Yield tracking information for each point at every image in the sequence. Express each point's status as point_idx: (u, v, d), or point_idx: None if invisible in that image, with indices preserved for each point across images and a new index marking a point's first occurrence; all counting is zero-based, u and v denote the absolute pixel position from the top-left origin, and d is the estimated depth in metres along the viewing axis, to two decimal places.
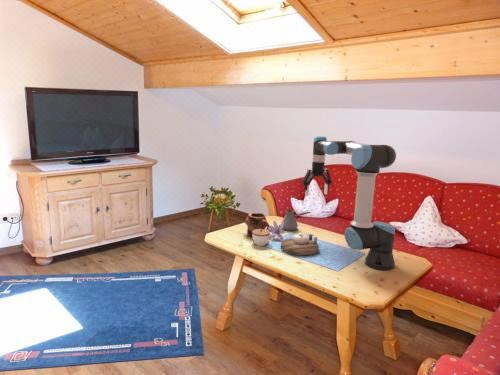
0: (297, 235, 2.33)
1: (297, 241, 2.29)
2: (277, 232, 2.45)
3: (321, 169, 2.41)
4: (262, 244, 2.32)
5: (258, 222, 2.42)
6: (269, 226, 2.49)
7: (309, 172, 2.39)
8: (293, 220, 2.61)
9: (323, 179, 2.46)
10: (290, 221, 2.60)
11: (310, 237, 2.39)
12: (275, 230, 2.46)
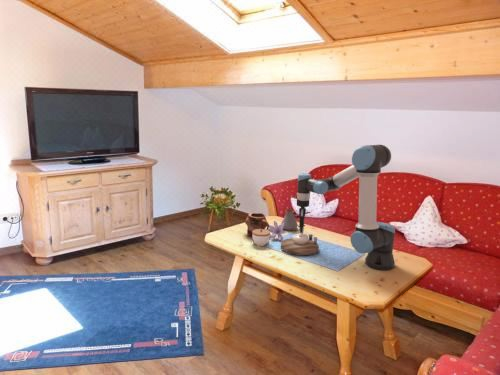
0: (297, 235, 2.32)
1: (297, 241, 2.29)
2: (277, 232, 2.45)
3: None
4: (263, 244, 2.32)
5: (258, 222, 2.42)
6: (269, 226, 2.49)
7: (303, 215, 2.29)
8: (293, 220, 2.61)
9: None
10: (290, 221, 2.60)
11: (310, 237, 2.39)
12: (275, 230, 2.46)
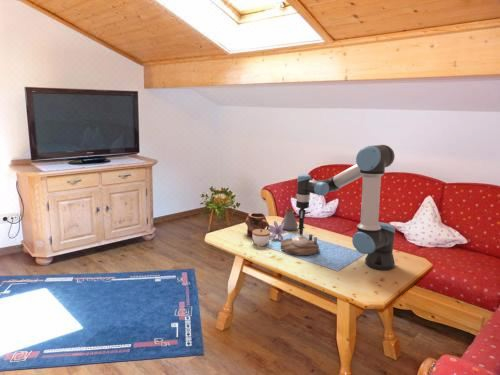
0: (296, 238, 2.29)
1: (296, 244, 2.25)
2: (277, 232, 2.45)
3: None
4: (262, 244, 2.32)
5: (258, 222, 2.42)
6: (270, 226, 2.49)
7: (303, 217, 2.25)
8: (293, 220, 2.61)
9: None
10: (290, 221, 2.60)
11: (310, 237, 2.39)
12: (275, 230, 2.46)
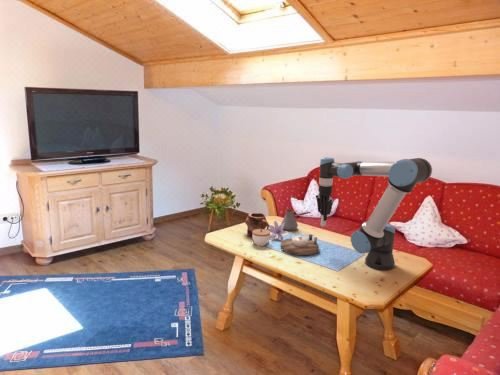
0: (296, 238, 2.29)
1: (296, 244, 2.25)
2: (278, 232, 2.45)
3: (327, 193, 2.16)
4: (262, 244, 2.32)
5: (258, 222, 2.42)
6: (270, 226, 2.49)
7: (316, 198, 2.23)
8: (293, 220, 2.61)
9: None
10: (290, 221, 2.60)
11: (310, 237, 2.39)
12: (276, 230, 2.46)
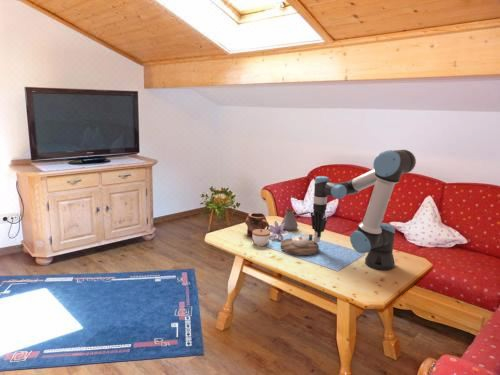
0: (296, 238, 2.29)
1: (296, 244, 2.25)
2: None
3: (321, 211, 2.22)
4: (262, 244, 2.32)
5: (258, 222, 2.42)
6: (270, 226, 2.49)
7: (311, 215, 2.29)
8: (293, 220, 2.61)
9: None
10: (290, 221, 2.60)
11: (310, 237, 2.39)
12: (276, 230, 2.46)
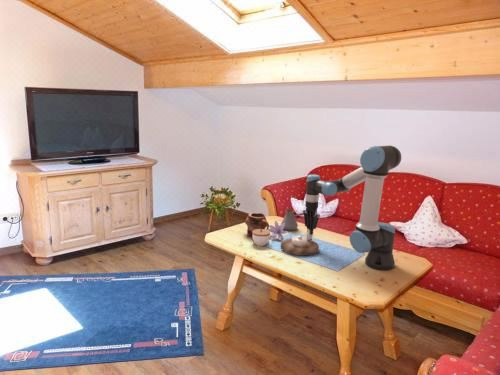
0: (296, 239, 2.27)
1: (301, 244, 2.24)
2: None
3: (313, 209, 2.28)
4: (262, 244, 2.32)
5: (258, 222, 2.42)
6: (270, 226, 2.49)
7: None
8: (293, 220, 2.61)
9: None
10: (290, 221, 2.60)
11: None
12: (276, 230, 2.46)
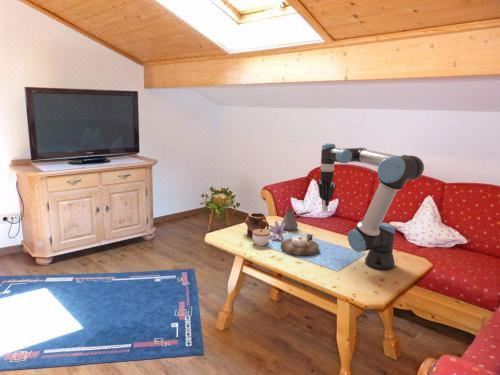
0: (296, 239, 2.27)
1: (301, 244, 2.24)
2: (278, 232, 2.45)
3: (328, 179, 2.20)
4: (262, 244, 2.32)
5: (258, 222, 2.42)
6: (271, 226, 2.49)
7: (318, 184, 2.27)
8: (293, 220, 2.61)
9: None
10: (290, 221, 2.60)
11: (310, 237, 2.39)
12: (276, 230, 2.46)
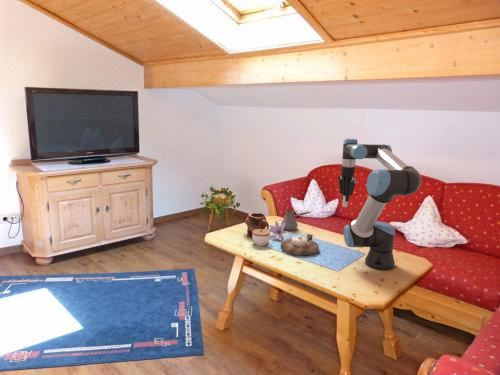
0: (296, 239, 2.27)
1: (301, 244, 2.24)
2: (278, 232, 2.45)
3: (349, 174, 2.18)
4: (262, 244, 2.32)
5: (258, 222, 2.42)
6: (271, 226, 2.49)
7: (338, 179, 2.26)
8: (293, 220, 2.61)
9: None
10: (290, 221, 2.60)
11: (310, 237, 2.39)
12: (276, 230, 2.46)
